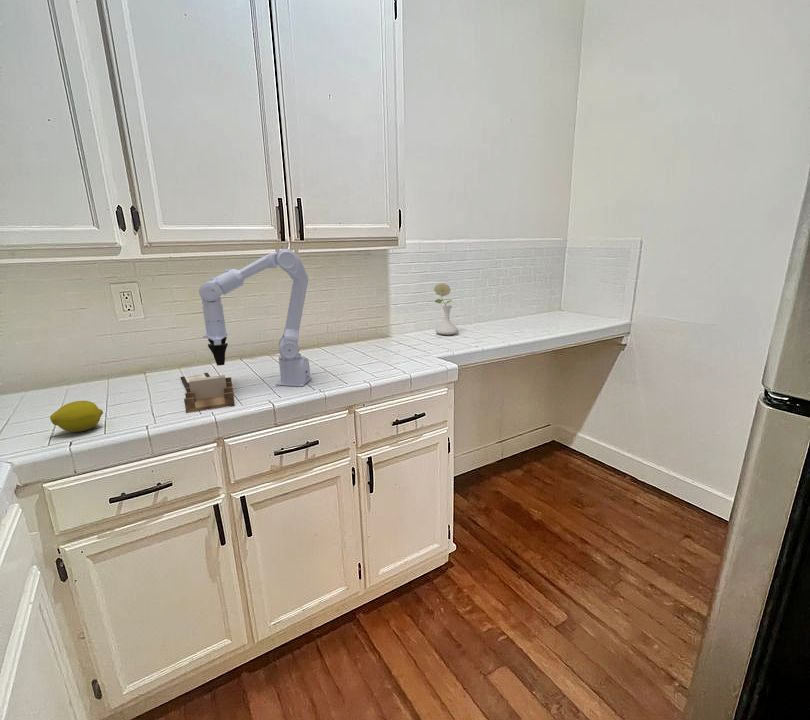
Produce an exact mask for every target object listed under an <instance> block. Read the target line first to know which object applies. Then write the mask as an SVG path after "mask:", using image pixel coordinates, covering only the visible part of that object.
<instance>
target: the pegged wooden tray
mask: <svg viewBox="0 0 810 720" xmlns="http://www.w3.org/2000/svg"><path fill="white" fill-rule="evenodd" d="M225 379H226V386H227V387H226V388H224V396H222V397H215V398H208V399H200V400H196V398H195V392H190V386H189V383H187V386H188V387H187V388H186V389H185V391H186V392H185V393H184V395H185V398H184V399H183V401H184V408H185V413H186V414H188V413H193V412H201V411H205V410H207V409H208V410H213V409H220V408H221V409H222V408H228V407H234V406H235V405H236V404H235V397H234V387H233V381H232V376H230V377H229V376H228V377H225Z"/></svg>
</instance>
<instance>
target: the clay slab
mask: <svg viewBox="0 0 810 720" xmlns="http://www.w3.org/2000/svg"><path fill="white" fill-rule="evenodd" d="M225 378H226V375H225V374H221V375H214V376H210V377H205V378H197V379H189V386H190V392H195V398H196V400H200V399H208V398H215V397H222V396H224V388H226V387H227V386H226V379H225Z"/></svg>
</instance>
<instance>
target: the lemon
mask: <svg viewBox="0 0 810 720" xmlns="http://www.w3.org/2000/svg"><path fill="white" fill-rule="evenodd" d="M103 413H104V411H103V410H102V409H101V408H99V407H98V406H97V404H96V403H94V402H92V401H89V400H76V401H71V402H68V403H65V404H64V405H63V406H60V408H58V409H57V410H56V411H54V412H53V413H52V414H50V417H49V419H50V423H51V424H53V425H54V426H56V427H57V426H58V427H59V428H60V429H62V430H63V431H66V432H71V433H72V432H73V433H75V432H84V431H87V430H90V429H92V428H94V427H95V426H97V424H99V422H100V420H101V418H102V415H103Z"/></svg>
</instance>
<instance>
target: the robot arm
mask: <svg viewBox="0 0 810 720" xmlns="http://www.w3.org/2000/svg"><path fill="white" fill-rule="evenodd" d="M277 267H279V268H280V269H281V270H283V271H284V272H285V273H287V274H288V276H289V278H290V279H292V286H291V291H290V296H289V297H290V298H289V303H288V308H287V315H286V321H285V326H284V330H283V334H282V336H281V338H280V339H279V340H278V347H279V349H278V352H279V355H278V363H279V364H278V365H279V373H280V380H279V381H278V382H277V383H276V384H275V385H276V386H288V387H290V386H291V387H303V386H305V385H306V384H307V383H309V381H310V380H312V377H311V371H310V370H311V368H310V367H311V366H310V360H309V359H308V358H307V357H303V356H302V355H301V353H300V347H299V334H300V328H301V322H302V316H303V312H304V311H303V310H304V306H305V300H306V295H307V288H308V285H309V284H308V283H309V276H308V273H307V272H306V268H305V267H304V265H303V261H302V260H301V258H300V257H299V256H298V255H297V254H296V253H295V251H293V250H292V249H290V248H282V249H280V250H279V251H274V252H271V253H269V254H266V255H263V256H262V257H260V258H258V259H257V260H255V261H253V262H251V263H250V264H248V265H246V266H244V267H243V268H241V269H236V268H231V269H230V268H226V269H224V273H221V274H219V275H218V276H215V277H214V276H213V277H210V280H209V281H206V282H204V283H203V284H201V286H200V287H199V291H198V294H199V296H200V298H201V299H202V300H201V301H202V311H203V319H204V325H205V331H206V334H202V339H207V341H208V342H209V343H208V344H207V346H208V347H207V348H208V349H209V350H210V351H211V353H212V355H213V358H214V361H215V364H216V365H217V366H225V362H226V351H227V348H228V346H229V344H228V343H227V342H226V341H227V336H228V333H227V329H226V323H225V315H224V307H223V304H222V298H221V295H227V294H229V293H231V292H232V291H235V290H236V289H238V288H240V287H243V285H244V282H245V280H246V279H248V278H250V277H252V276H254V275H256V274H258V273H260V272H262V271H264V270H266V269H278V268H277Z"/></svg>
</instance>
